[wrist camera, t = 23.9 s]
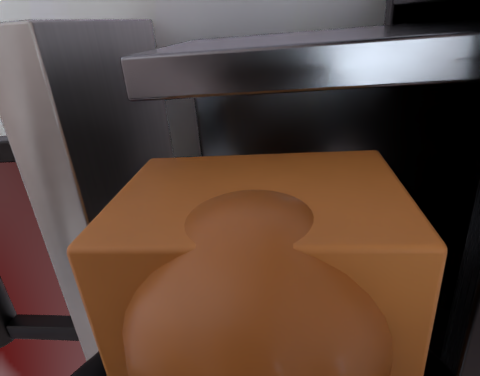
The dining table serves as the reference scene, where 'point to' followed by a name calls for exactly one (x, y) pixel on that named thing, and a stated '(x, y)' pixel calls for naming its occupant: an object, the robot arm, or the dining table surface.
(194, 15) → the dining table surface
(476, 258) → the black drawer cabinet
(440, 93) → the grey pull-out drawer
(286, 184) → the bread loaf
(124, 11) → the dining table surface
